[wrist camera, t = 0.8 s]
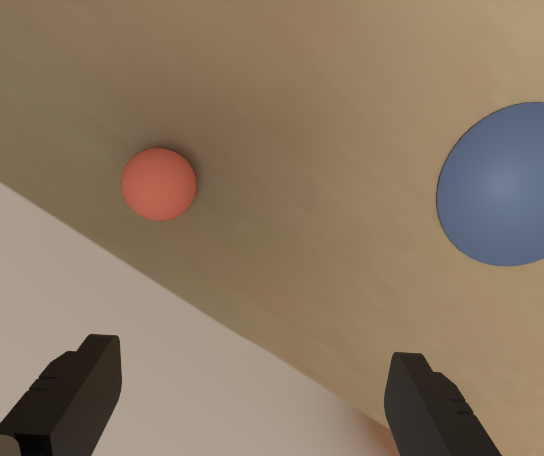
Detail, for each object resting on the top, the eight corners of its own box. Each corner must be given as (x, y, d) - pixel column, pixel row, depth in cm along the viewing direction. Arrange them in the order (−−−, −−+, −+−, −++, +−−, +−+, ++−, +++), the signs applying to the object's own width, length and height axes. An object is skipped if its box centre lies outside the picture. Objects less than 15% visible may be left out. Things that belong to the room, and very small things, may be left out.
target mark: (403, 185, 33) (403, 185, 33) (547, 62, 30) (549, 62, 30) (496, 294, 36) (497, 295, 36) (635, 192, 33) (637, 192, 33)
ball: (121, 176, 33) (92, 190, 28) (166, 129, 32) (145, 135, 27) (171, 223, 34) (152, 245, 29) (215, 179, 33) (204, 194, 28)
